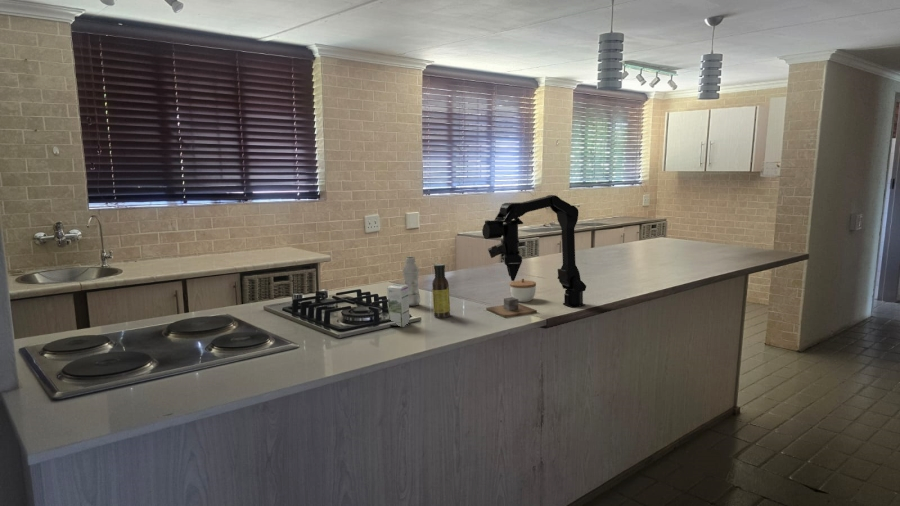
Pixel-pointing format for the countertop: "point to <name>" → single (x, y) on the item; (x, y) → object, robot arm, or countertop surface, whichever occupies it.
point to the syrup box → (398, 304)
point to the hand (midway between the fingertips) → (511, 278)
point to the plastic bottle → (412, 280)
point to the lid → (511, 309)
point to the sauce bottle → (440, 293)
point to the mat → (509, 317)
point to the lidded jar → (523, 290)
